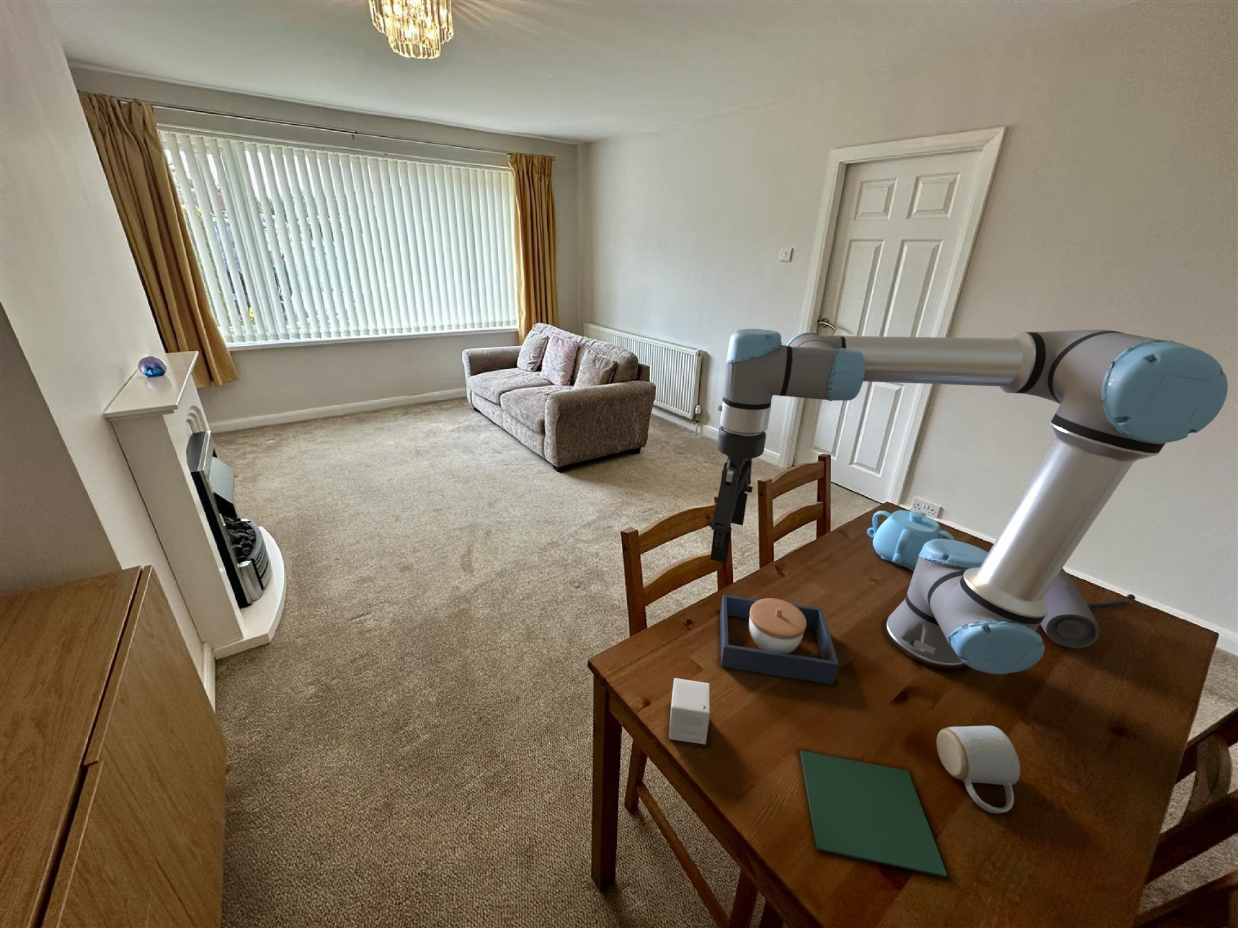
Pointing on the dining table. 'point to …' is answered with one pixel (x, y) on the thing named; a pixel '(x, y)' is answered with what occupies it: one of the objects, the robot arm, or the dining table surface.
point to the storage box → (776, 661)
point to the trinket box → (776, 625)
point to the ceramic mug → (980, 760)
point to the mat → (869, 813)
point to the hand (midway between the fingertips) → (727, 540)
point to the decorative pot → (904, 536)
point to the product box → (690, 711)
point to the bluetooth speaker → (1068, 615)
